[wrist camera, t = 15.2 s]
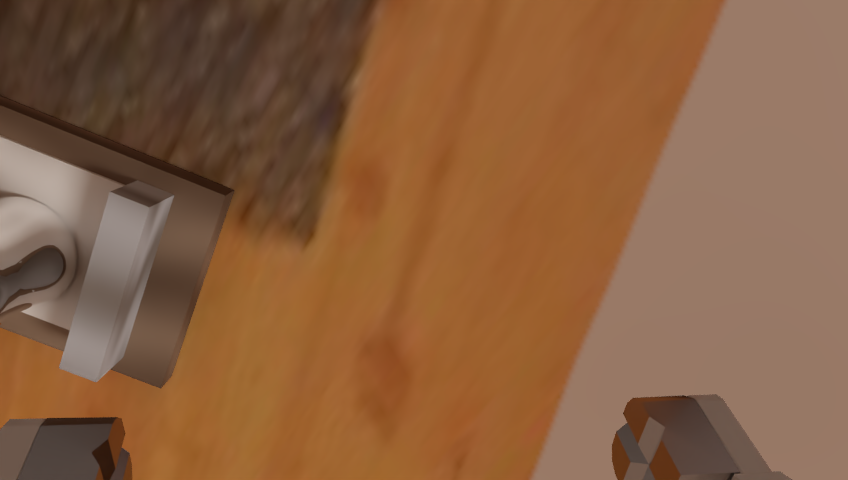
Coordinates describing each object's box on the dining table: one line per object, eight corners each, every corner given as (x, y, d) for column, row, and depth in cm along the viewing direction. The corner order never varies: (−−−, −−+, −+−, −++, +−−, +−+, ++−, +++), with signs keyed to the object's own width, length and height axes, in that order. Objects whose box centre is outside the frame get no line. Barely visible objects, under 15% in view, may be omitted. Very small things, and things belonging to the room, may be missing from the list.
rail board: (-109, 51, 36) (-187, 51, 31) (234, 190, 37) (205, 208, 32) (-147, 254, 39) (-222, 280, 34) (171, 376, 40) (137, 415, 36)
